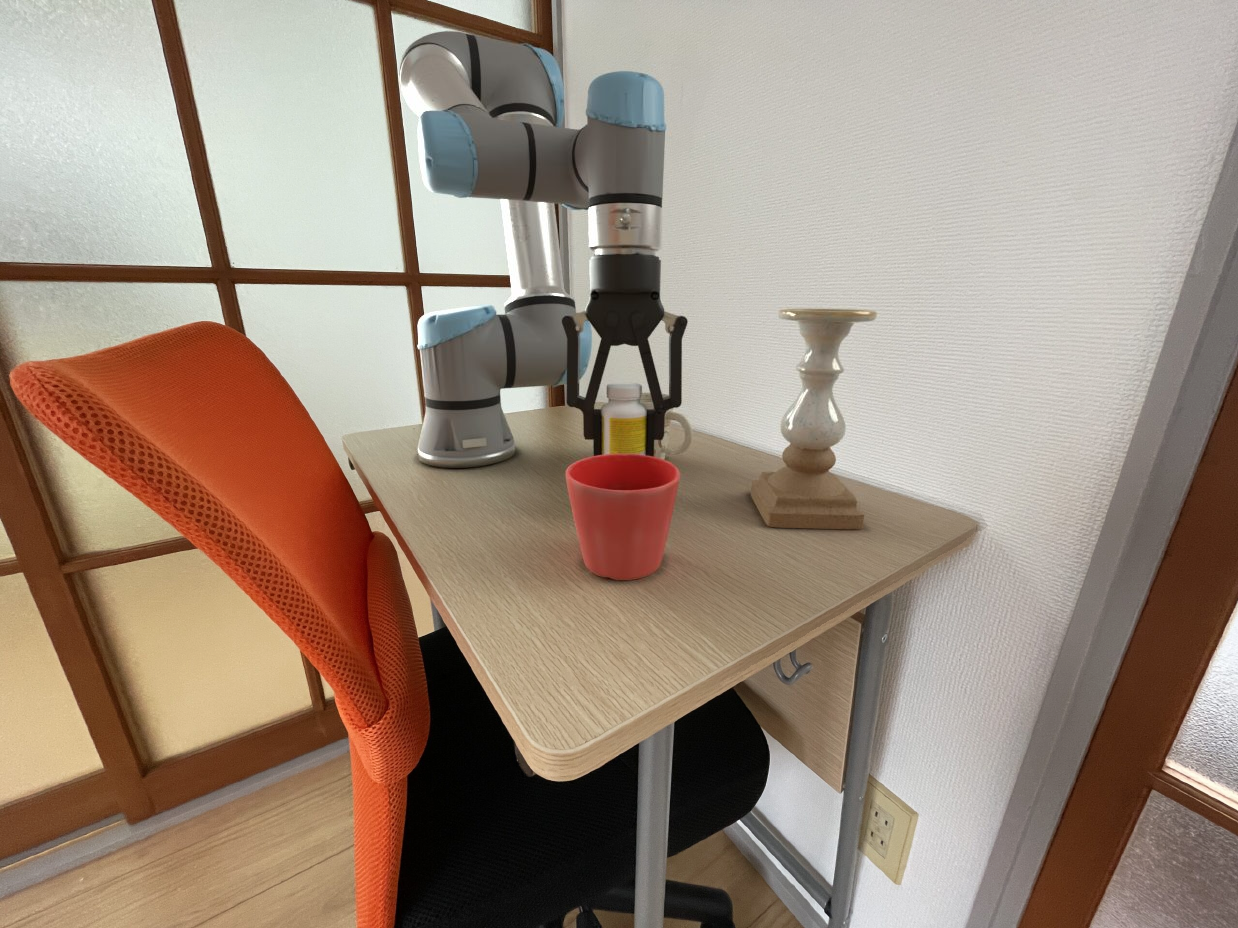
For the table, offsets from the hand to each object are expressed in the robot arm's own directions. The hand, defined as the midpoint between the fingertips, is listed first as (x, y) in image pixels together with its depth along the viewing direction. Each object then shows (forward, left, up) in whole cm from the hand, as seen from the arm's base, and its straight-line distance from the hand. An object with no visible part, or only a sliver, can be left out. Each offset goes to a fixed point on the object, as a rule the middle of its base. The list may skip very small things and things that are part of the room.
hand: (623, 465), depth 62 cm
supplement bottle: (0, 0, -1) cm, 1 cm away
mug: (-14, +18, -6) cm, 23 cm away
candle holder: (+12, +19, -6) cm, 23 cm away
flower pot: (+9, -7, -6) cm, 13 cm away
